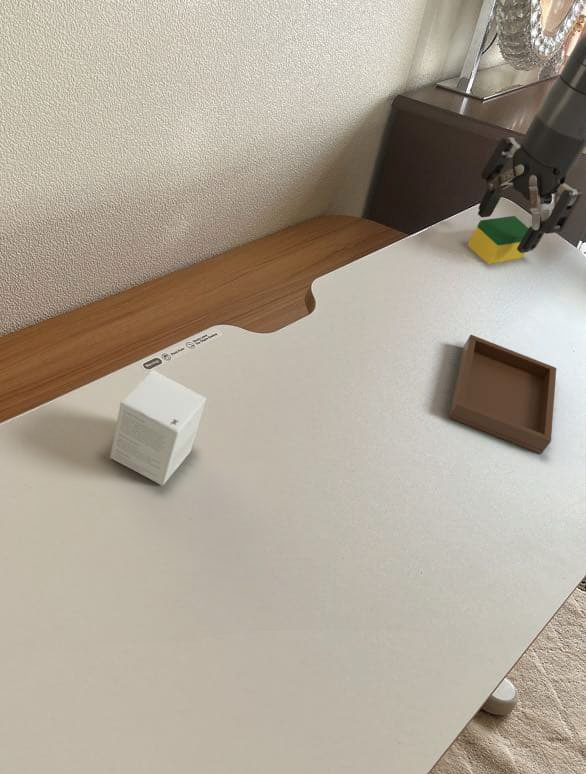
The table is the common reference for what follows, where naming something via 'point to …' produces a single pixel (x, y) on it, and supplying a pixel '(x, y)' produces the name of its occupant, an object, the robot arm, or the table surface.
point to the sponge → (498, 239)
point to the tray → (504, 394)
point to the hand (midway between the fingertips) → (502, 233)
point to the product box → (156, 427)
